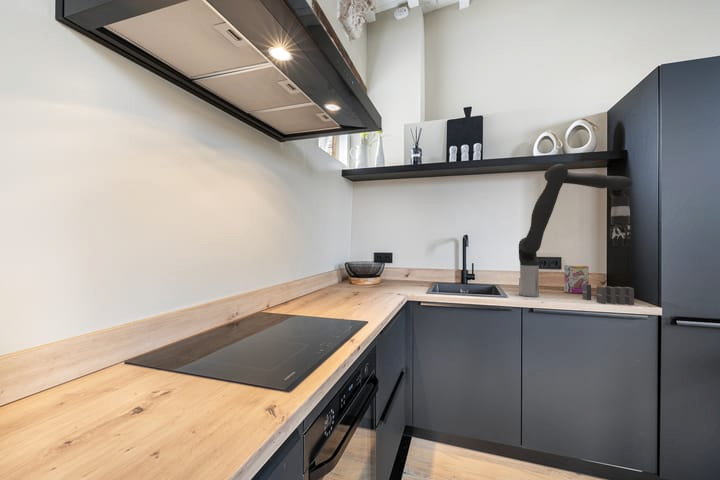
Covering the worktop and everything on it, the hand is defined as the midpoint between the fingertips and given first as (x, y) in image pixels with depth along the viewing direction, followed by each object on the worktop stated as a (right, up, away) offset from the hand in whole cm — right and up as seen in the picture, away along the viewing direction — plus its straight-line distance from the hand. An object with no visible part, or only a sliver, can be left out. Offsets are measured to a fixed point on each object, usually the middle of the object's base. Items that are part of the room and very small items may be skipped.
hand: (620, 245), depth 156 cm
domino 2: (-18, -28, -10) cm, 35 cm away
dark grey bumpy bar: (-15, -28, -11) cm, 34 cm away
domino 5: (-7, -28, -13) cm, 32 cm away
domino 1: (-19, -28, -1) cm, 34 cm away
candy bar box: (-10, -29, +19) cm, 36 cm away
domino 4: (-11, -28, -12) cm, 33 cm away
